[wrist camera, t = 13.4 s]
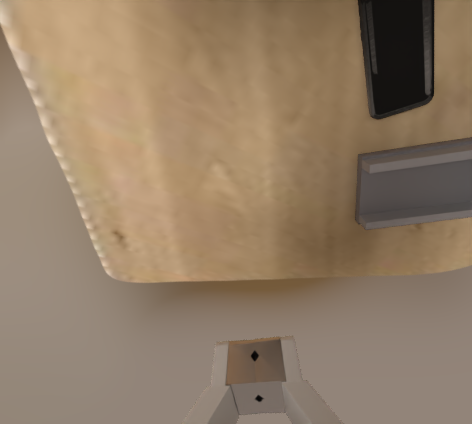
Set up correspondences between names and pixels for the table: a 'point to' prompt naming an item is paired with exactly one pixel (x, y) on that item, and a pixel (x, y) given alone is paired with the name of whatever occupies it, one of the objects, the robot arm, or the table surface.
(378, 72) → the phone
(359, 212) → the keeper track
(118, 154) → the table surface
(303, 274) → the table surface
